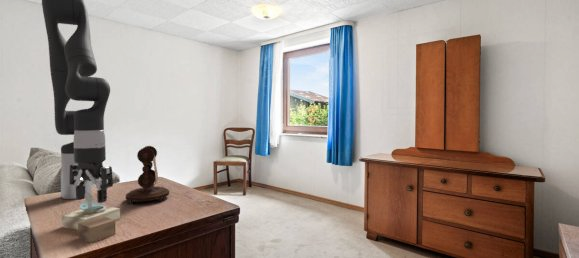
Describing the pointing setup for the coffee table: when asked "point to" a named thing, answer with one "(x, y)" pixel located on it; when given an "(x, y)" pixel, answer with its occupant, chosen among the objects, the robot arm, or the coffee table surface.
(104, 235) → the walnut block
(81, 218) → the ash block
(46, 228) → the coffee table surface
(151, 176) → the dark brown sculpture
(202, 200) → the coffee table surface
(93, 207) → the pacifier
